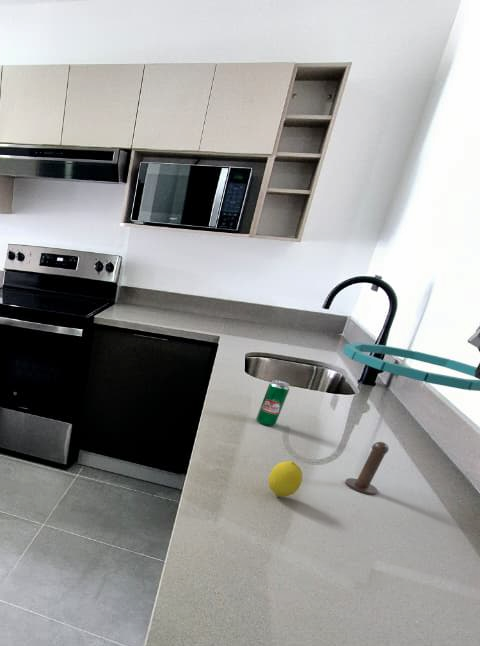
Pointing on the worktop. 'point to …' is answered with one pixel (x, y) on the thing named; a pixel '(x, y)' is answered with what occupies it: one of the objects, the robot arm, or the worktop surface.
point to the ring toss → (369, 470)
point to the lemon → (285, 479)
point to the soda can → (273, 402)
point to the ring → (356, 354)
